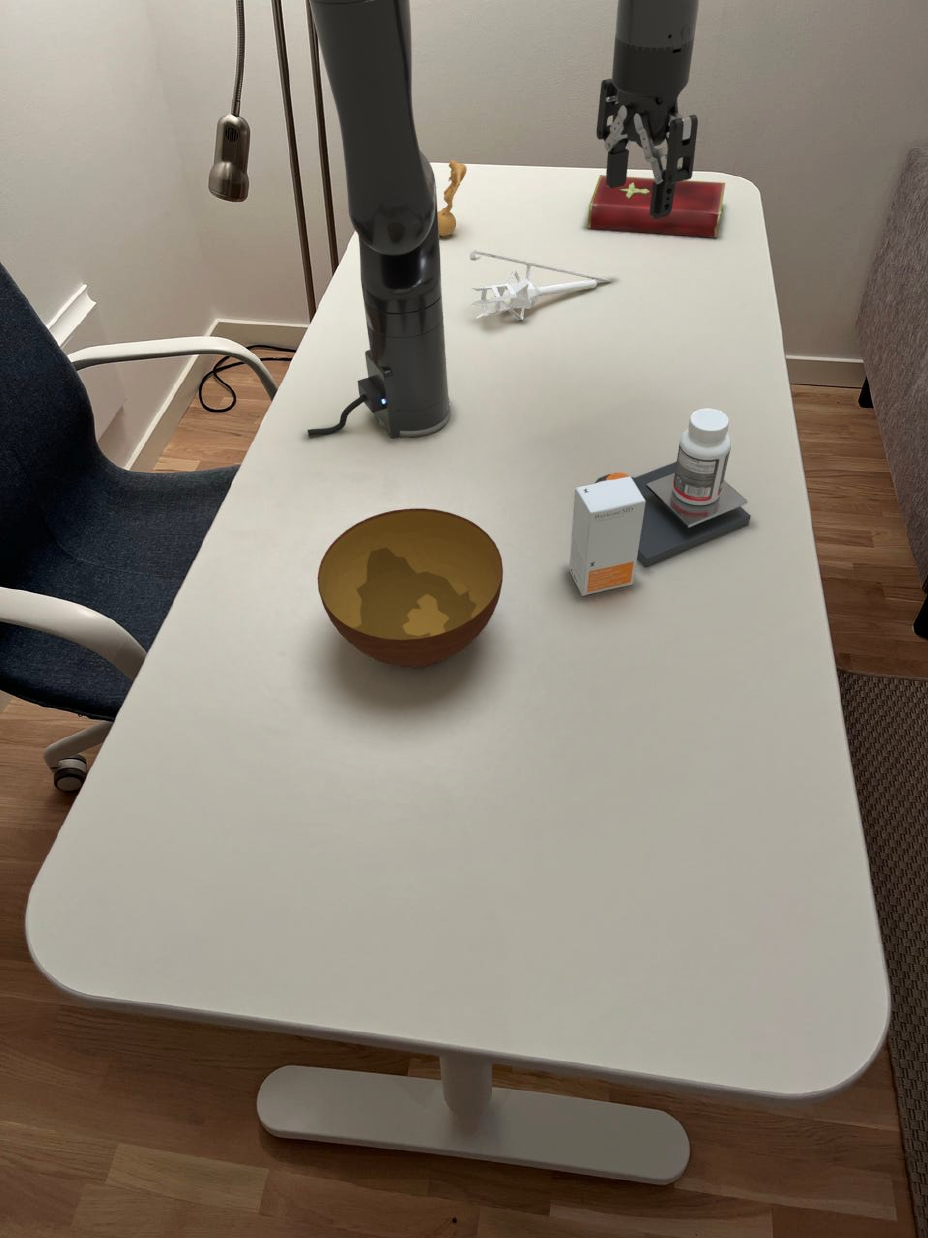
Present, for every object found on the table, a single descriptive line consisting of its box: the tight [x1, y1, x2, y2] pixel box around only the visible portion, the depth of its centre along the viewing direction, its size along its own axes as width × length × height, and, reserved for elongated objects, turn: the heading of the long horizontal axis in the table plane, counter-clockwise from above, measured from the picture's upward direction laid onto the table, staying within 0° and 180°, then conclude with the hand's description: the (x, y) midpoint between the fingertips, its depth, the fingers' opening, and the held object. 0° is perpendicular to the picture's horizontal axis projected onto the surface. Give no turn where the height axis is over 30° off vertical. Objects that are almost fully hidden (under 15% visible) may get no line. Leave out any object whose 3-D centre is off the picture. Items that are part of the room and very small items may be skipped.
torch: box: [468, 249, 612, 321], centre depth 137 cm, size 6×9×25 cm
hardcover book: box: [587, 174, 726, 239], centre depth 155 cm, size 12×21×4 cm, turn 76°
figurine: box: [438, 159, 468, 237], centre depth 151 cm, size 8×6×12 cm
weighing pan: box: [646, 473, 749, 528], centre depth 104 cm, size 8×8×1 cm
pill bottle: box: [673, 407, 732, 505], centre depth 101 cm, size 5×5×10 cm
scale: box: [593, 461, 752, 568], centre depth 106 cm, size 14×12×3 cm
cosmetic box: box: [568, 475, 646, 597], centre depth 96 cm, size 6×4×12 cm
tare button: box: [606, 472, 630, 480], centre depth 105 cm, size 3×3×2 cm
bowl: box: [317, 507, 504, 668], centre depth 92 cm, size 18×18×10 cm
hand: (637, 200), depth 101 cm, fingers open, 8 cm apart
